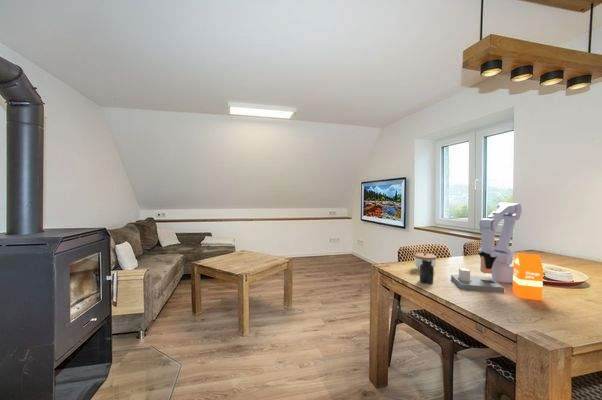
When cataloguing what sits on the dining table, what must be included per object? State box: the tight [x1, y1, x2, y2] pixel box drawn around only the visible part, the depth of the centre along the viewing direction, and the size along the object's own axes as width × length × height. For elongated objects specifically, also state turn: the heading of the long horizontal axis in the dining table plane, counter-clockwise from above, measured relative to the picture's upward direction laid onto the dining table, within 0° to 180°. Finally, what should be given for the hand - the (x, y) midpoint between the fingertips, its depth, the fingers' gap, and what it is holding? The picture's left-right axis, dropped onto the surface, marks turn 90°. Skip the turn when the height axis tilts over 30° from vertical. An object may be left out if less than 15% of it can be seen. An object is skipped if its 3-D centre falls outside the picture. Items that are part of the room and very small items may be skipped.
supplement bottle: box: [419, 259, 435, 285], centre depth 149 cm, size 7×7×12 cm
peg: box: [479, 256, 493, 275], centre depth 143 cm, size 4×4×8 cm
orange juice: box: [512, 252, 544, 301], centre depth 130 cm, size 8×9×20 cm
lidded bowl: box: [413, 251, 437, 271], centre depth 171 cm, size 13×13×11 cm
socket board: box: [450, 267, 505, 293], centre depth 144 cm, size 19×16×8 cm
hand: (486, 267), depth 143 cm, fingers closed on peg, 4 cm apart
